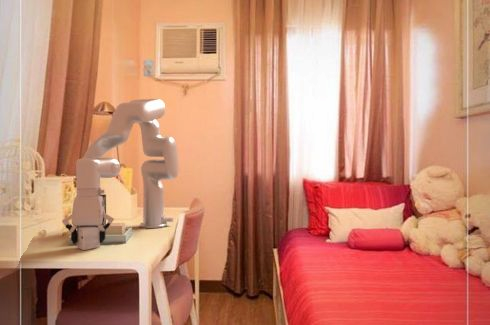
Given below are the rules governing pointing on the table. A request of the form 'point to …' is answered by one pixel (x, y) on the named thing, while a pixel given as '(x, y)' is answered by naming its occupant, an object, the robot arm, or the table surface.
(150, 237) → the table surface
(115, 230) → the parcel
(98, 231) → the skincare box
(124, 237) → the grey-green tray
